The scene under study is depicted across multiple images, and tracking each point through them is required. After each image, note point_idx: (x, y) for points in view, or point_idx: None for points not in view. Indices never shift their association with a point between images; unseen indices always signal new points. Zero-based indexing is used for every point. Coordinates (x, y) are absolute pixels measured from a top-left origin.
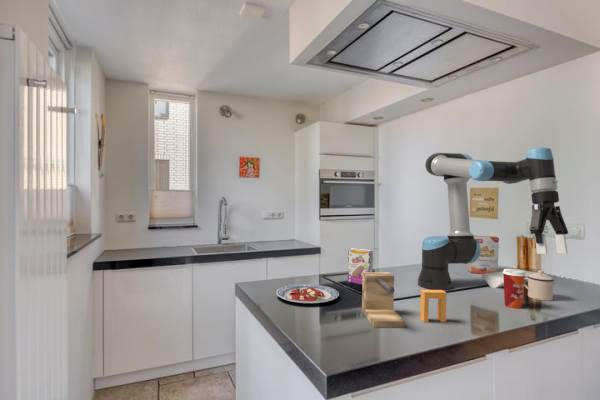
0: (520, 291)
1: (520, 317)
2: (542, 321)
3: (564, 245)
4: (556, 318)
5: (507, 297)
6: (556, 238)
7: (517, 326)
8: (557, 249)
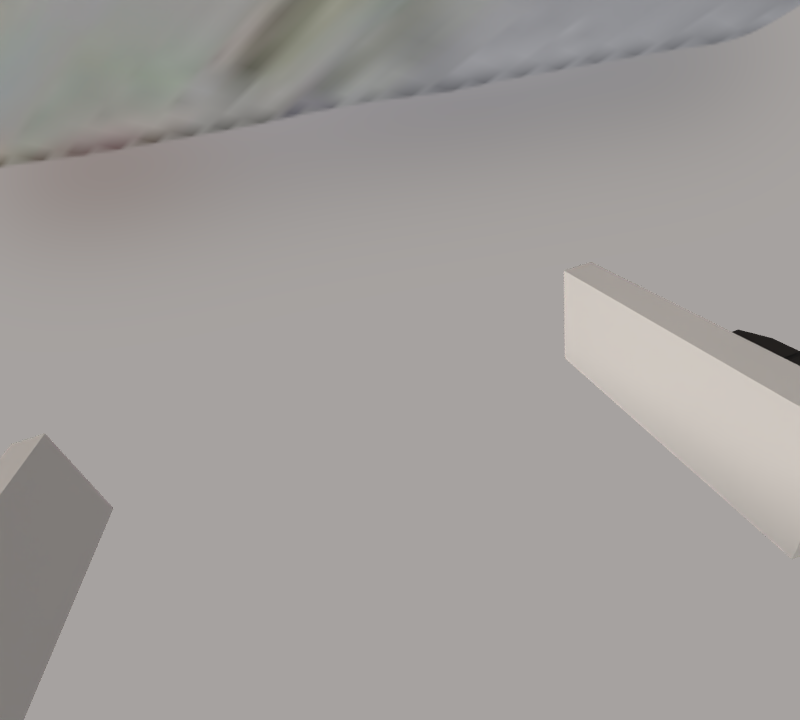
0: None
1: (185, 13)
2: (275, 114)
3: (630, 405)
4: (397, 97)
5: None
6: (750, 398)
7: (60, 140)
8: (597, 297)
